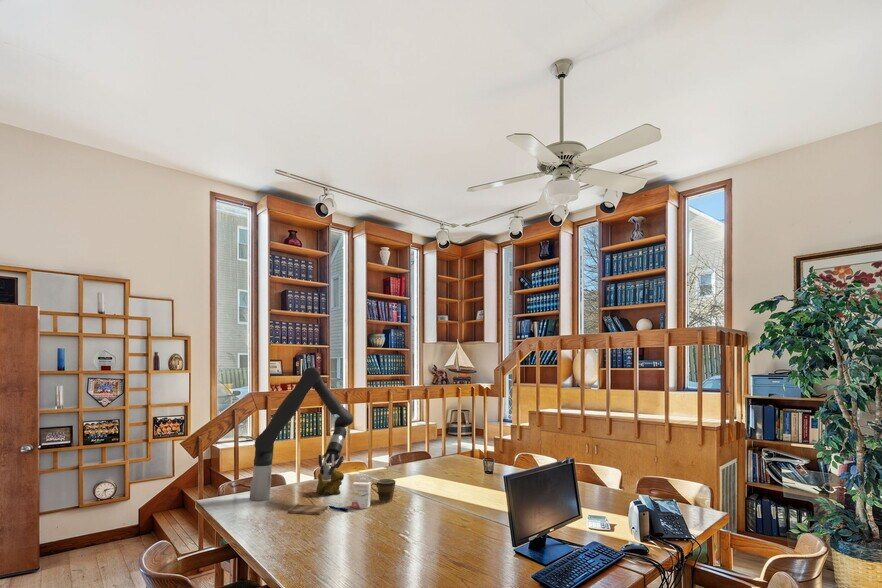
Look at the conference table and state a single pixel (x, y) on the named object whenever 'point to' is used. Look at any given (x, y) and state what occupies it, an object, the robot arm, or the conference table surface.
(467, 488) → the conference table surface
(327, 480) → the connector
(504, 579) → the conference table surface
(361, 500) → the ink cartridge box
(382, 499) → the ceramic cup
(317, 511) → the walnut board
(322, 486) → the gourd
